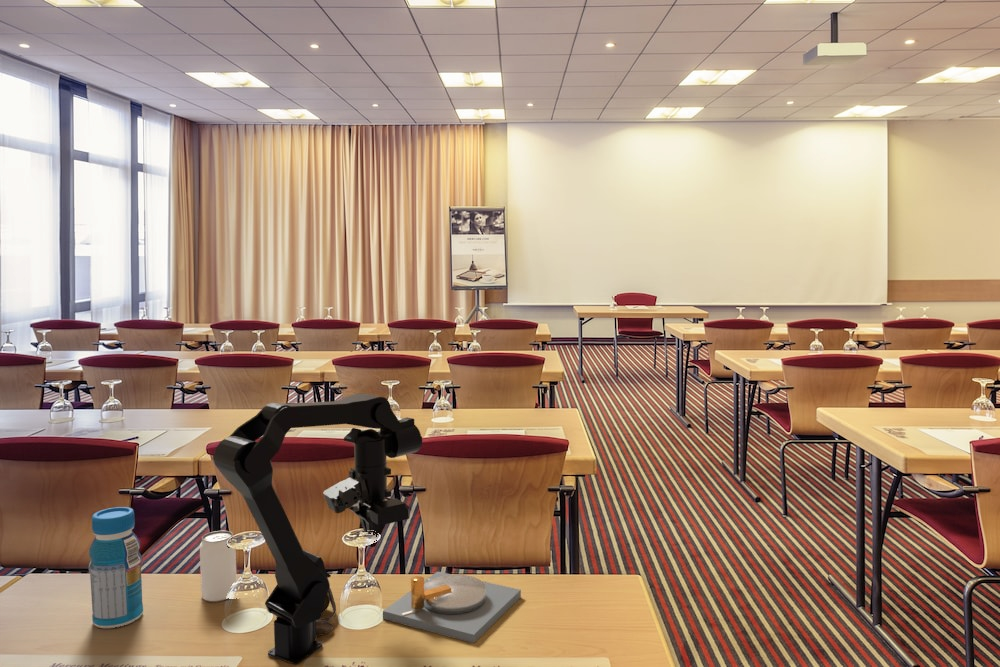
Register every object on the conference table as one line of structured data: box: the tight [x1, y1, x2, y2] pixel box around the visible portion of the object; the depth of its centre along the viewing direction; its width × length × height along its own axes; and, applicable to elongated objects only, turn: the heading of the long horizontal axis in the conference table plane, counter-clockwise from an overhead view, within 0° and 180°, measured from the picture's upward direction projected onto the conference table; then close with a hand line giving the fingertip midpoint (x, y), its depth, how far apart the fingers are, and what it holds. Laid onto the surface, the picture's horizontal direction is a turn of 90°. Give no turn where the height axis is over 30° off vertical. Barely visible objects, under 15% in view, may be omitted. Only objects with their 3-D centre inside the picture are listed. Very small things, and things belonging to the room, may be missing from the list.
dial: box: [410, 574, 486, 614], centre depth 130 cm, size 15×12×6 cm
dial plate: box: [382, 571, 522, 644], centre depth 131 cm, size 19×19×2 cm
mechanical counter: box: [316, 588, 337, 637], centre depth 127 cm, size 7×13×10 cm
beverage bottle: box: [88, 506, 144, 629], centre depth 127 cm, size 8×8×20 cm
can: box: [199, 530, 238, 603], centre depth 136 cm, size 6×6×12 cm
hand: (372, 546), depth 128 cm, fingers closed
